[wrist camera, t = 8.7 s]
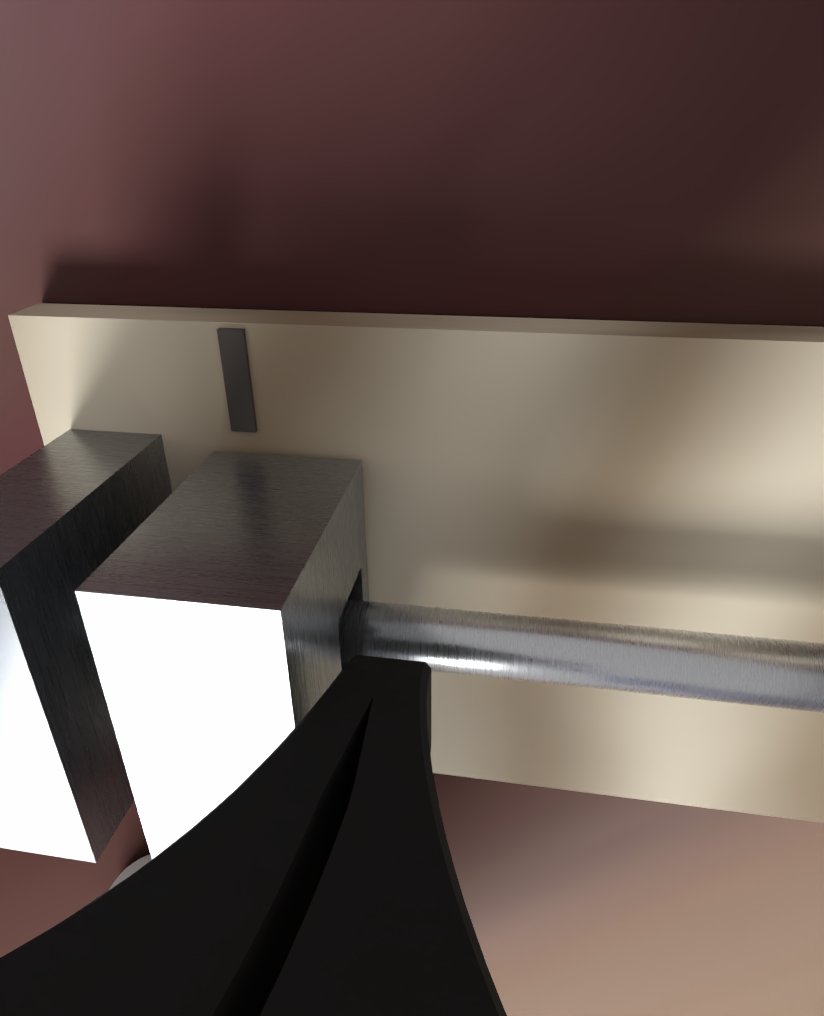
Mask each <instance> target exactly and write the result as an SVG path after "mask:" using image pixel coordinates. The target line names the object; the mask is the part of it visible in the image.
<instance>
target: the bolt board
mask: <svg viewBox="0 0 824 1016" xmlns="http://www.w3.org/2000/svg"><path fill="white" fill-rule="evenodd" d="M8 317H9V320H10V324H11V328H12V331H13V335H14V338H15V342H16V346H17V349H18V353H19V356H20V360H21V363H22V367H23V371H24V374H25V378H26V381H27V385H28V388H29V392H30V396H31V399H32V403H33V406H34V410H35V414H36V417H37V421H38V424H39V428H40V431H41V435H42V439H43V442H44V447H42V448H41V449H39V450H38V451H36V452H35V453H33V454H32V455H30V456H29V457H27V458H26V459H24V460H23V461H21V462H20V463H18V464H17V465H15V466H14V467H12V468H11V469H9V470H8V471H6V472H5V473H3V474H1V475H0V848H6V849H13V850H19V851H25V852H32V853H38V854H44V855H50V856H57V857H63V858H69V859H76V860H82V861H88V862H94V863H96V862H97V860H98V859H99V857H100V855H101V854H102V852H103V851H104V849H105V847H106V846H107V844H108V842H109V841H110V839H111V837H112V836H113V834H114V832H115V831H116V829H117V827H118V826H119V824H120V823H121V821H122V819H123V818H124V816H125V814H126V813H127V811H128V809H129V808H130V806H131V804H132V803H133V801H134V795H133V792H132V788H131V785H130V781H129V778H128V774H127V771H126V767H125V764H124V760H123V757H122V753H121V750H120V747H119V743H118V740H117V736H116V733H115V729H114V726H113V722H112V719H111V715H110V712H109V708H108V705H107V701H106V698H105V694H104V691H103V687H102V684H101V681H100V677H99V674H98V670H97V667H96V663H95V660H94V656H93V653H92V649H91V646H90V642H89V639H88V635H87V632H86V628H85V625H84V621H83V618H82V614H81V611H80V608H79V604H78V601H77V597H76V594H75V590H76V589H77V588H78V587H79V586H80V585H81V584H82V583H83V582H84V581H85V580H86V579H87V578H88V577H89V576H90V575H91V574H92V573H93V572H94V571H95V570H96V569H97V568H98V567H99V566H100V565H101V564H102V563H103V562H104V561H105V560H106V559H107V558H108V557H109V556H110V555H111V554H112V553H113V552H114V551H115V550H116V549H117V548H118V547H119V546H120V545H121V544H122V543H123V542H124V541H125V540H126V539H127V538H128V537H129V536H130V535H131V534H132V533H133V532H134V531H135V530H136V529H137V528H138V527H139V526H140V525H141V524H142V523H143V522H144V521H145V520H146V519H147V518H148V517H149V516H150V515H151V514H152V513H153V512H154V511H155V510H156V509H157V508H158V507H159V506H160V505H161V504H162V503H163V502H164V501H165V500H166V499H167V498H168V497H169V496H170V495H171V494H172V493H173V492H174V491H175V490H176V489H177V488H178V487H179V486H180V485H181V484H182V483H183V482H184V481H185V480H186V479H187V478H188V477H189V476H190V475H191V474H192V473H193V472H194V471H195V470H196V469H197V468H198V466H199V465H200V464H201V463H202V462H203V461H204V460H205V459H206V458H207V457H208V456H209V455H210V454H211V453H212V452H213V451H222V452H238V453H254V454H270V455H286V456H302V457H318V458H334V459H350V460H362V466H363V486H364V506H365V527H366V547H367V567H368V587H369V601H363V600H352V599H348V600H347V602H346V604H345V607H344V609H343V611H342V614H341V616H340V619H339V621H338V629H339V642H340V655H341V661H342V662H348V661H349V660H350V659H351V658H352V657H354V656H355V655H364V656H374V657H383V658H393V659H402V660H412V661H421V662H426V663H427V664H428V665H429V666H430V667H431V668H432V669H431V754H430V755H431V763H432V770H433V773H438V774H446V775H454V776H461V777H469V778H477V779H485V780H493V781H500V782H508V783H516V784H524V785H532V786H539V787H547V788H555V789H563V790H571V791H578V792H586V793H594V794H602V795H610V796H617V797H625V798H633V799H641V800H649V801H656V802H664V803H672V804H680V805H688V806H695V807H703V808H711V809H719V810H727V811H734V812H742V813H750V814H758V815H766V816H773V817H781V818H789V819H797V820H805V821H812V822H820V823H824V327H814V326H780V325H747V324H714V323H681V322H648V321H615V320H582V319H549V318H516V317H482V316H449V315H416V314H383V313H350V312H317V311H284V310H251V309H217V308H184V307H151V306H118V305H85V304H52V303H39V304H36V305H34V306H31V307H29V308H26V309H23V310H21V311H18V312H15V313H13V314H10V315H8Z"/></svg>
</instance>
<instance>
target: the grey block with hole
mask: <svg viewBox="0 0 824 1016" xmlns="http://www.w3.org/2000/svg"><path fill="white" fill-rule="evenodd" d="M75 594H76V597H77V601H78V604H79V608H80V611H81V614H82V618H83V621H84V625H85V628H86V632H87V635H88V639H89V642H90V646H91V649H92V653H93V656H94V660H95V663H96V667H97V670H98V674H99V677H100V681H101V684H102V687H103V691H104V694H105V698H106V701H107V705H108V708H109V712H110V715H111V719H112V722H113V726H114V729H115V733H116V736H117V740H118V743H119V747H120V750H121V753H122V757H123V760H124V764H125V767H126V771H127V774H128V778H129V781H130V785H131V788H132V792H133V795H134V799H135V802H136V806H137V809H138V813H139V816H140V820H141V823H142V826H143V830H144V833H145V837H146V840H147V844H148V847H149V851H150V854H151V858H152V859H153V858H155V857H156V856H157V855H159V854H160V853H161V852H162V851H164V850H165V849H166V848H167V847H169V846H170V845H171V844H172V843H174V842H175V841H176V840H177V839H179V838H180V837H181V836H182V835H184V834H185V833H186V832H188V831H189V830H190V829H191V828H192V827H194V826H195V825H196V824H197V823H198V822H199V821H201V820H202V819H203V818H204V817H205V816H206V815H208V814H209V813H210V812H211V811H212V810H213V809H214V808H216V807H217V806H218V805H219V804H220V803H221V802H222V801H223V800H224V799H226V798H227V797H228V796H229V795H230V794H231V793H232V792H233V791H234V790H235V789H236V788H237V787H238V786H239V785H240V784H241V783H242V782H244V781H245V780H246V779H247V777H248V776H249V775H250V774H251V773H252V772H253V771H254V770H255V769H256V768H257V767H258V766H259V765H260V764H261V763H262V762H263V761H264V760H265V759H266V758H267V757H268V756H269V755H270V754H271V753H272V752H273V751H274V750H275V749H276V748H277V747H278V746H279V745H280V744H281V743H282V741H283V740H284V739H285V738H286V737H287V736H288V735H289V734H290V732H291V731H292V730H293V729H294V728H295V727H296V726H297V724H298V723H299V722H300V721H301V720H302V719H303V718H304V717H305V715H306V714H307V713H308V712H309V711H310V710H311V708H312V707H313V706H314V705H315V704H316V702H317V701H318V700H319V699H320V697H321V696H322V695H323V694H324V693H325V691H326V690H327V689H328V688H329V686H330V685H331V684H332V682H333V681H334V680H335V679H336V677H337V676H338V675H339V673H340V672H341V671H342V669H343V668H344V667H345V665H346V664H347V663H348V662H342V661H341V655H340V642H339V629H338V621H339V619H340V616H341V614H342V611H343V609H344V607H345V604H346V602H347V600H348V599H352V600H363V601H369V587H368V567H367V547H366V527H365V506H364V486H363V466H362V460H350V459H334V458H318V457H302V456H286V455H270V454H254V453H238V452H222V451H213V452H212V453H211V454H210V455H209V456H208V457H207V458H206V459H205V460H204V461H203V462H202V463H201V464H200V465H199V466H198V468H197V469H196V470H195V471H194V472H193V473H192V474H191V475H190V476H189V477H188V478H187V479H186V480H185V481H184V482H183V483H182V484H181V485H180V486H179V487H178V488H177V489H176V490H175V491H174V492H173V493H172V494H171V495H170V496H169V497H168V498H167V499H166V500H165V501H164V502H163V503H162V504H161V505H160V506H159V507H158V508H157V509H156V510H155V511H154V512H153V513H152V514H151V515H150V516H149V517H148V518H147V519H146V520H145V521H144V522H143V523H142V524H141V525H140V526H139V527H138V528H137V529H136V530H135V531H134V532H133V533H132V534H131V535H130V536H129V537H128V538H127V539H126V540H125V541H124V542H123V543H122V544H121V545H120V546H119V547H118V548H117V549H116V550H115V551H114V552H113V553H112V554H111V555H110V556H109V557H108V558H107V559H106V560H105V561H104V562H103V563H102V564H101V565H100V566H99V567H98V568H97V569H96V570H95V571H94V572H93V573H92V574H91V575H90V576H89V577H88V578H87V579H86V580H85V581H84V582H83V583H82V584H81V585H80V586H79V587H78V588H77V589H76V590H75Z"/></svg>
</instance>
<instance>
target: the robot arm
mask: <svg viewBox="0 0 824 1016" xmlns="http://www.w3.org/2000/svg"><path fill="white" fill-rule="evenodd" d="M431 669H432V668H431V667H430V666H429V665H428V664H427V663H426V662H421V661H412V660H402V659H393V658H383V657H374V656H364V655H355V656H354V657H352V658H351V659H350V660H349V661H348V663H347V664H346V665H345V667H344V668H343V669H342V671H341V672H340V673H339V675H338V676H337V677H336V679H335V680H334V681H333V682H332V684H331V685H330V686H329V688H328V689H327V690H326V691H325V693H324V694H323V695H322V696H321V697H320V699H319V700H318V701H317V702H316V704H315V705H314V706H313V707H312V708H311V710H310V711H309V712H308V713H307V714H306V715H305V717H304V718H303V719H302V720H301V721H300V722H299V723H298V724H297V726H296V727H295V728H294V729H293V730H292V731H291V732H290V734H289V735H288V736H287V737H286V738H285V739H284V740H283V741H282V743H281V744H280V745H279V746H278V747H277V748H276V749H275V750H274V751H273V752H272V753H271V754H270V755H269V756H268V757H267V758H266V759H265V760H264V761H263V762H262V763H261V764H260V765H259V766H258V767H257V768H256V769H255V770H254V771H253V772H252V773H251V774H250V775H249V776H248V777H247V779H246V780H245V781H244V782H242V783H241V784H240V785H239V786H238V787H237V788H236V789H235V790H234V791H233V792H232V793H231V794H230V795H229V796H228V797H227V798H226V799H224V800H223V801H222V802H221V803H220V804H219V805H218V806H217V807H216V808H214V809H213V810H212V811H211V812H210V813H209V814H208V815H206V816H205V817H204V818H203V819H202V820H201V821H199V822H198V823H197V824H196V825H195V826H194V827H192V828H191V829H190V830H189V831H188V832H186V833H185V834H184V835H182V836H181V837H180V838H179V839H177V840H176V841H175V842H174V843H172V844H171V845H170V846H169V847H167V848H166V849H165V850H164V851H162V852H161V853H160V854H159V855H157V856H156V857H155V858H153V859H152V860H151V861H149V862H148V863H147V864H145V865H144V866H143V867H141V868H140V869H139V870H137V871H136V872H135V873H133V874H132V875H131V876H129V877H128V878H126V879H125V880H123V881H122V882H120V883H119V884H117V885H116V886H114V887H113V888H111V889H110V890H109V891H107V892H106V893H104V894H103V895H101V896H100V897H98V898H97V899H95V900H94V901H92V902H91V903H89V904H88V905H86V906H85V907H84V908H82V909H81V910H79V911H78V912H76V913H75V914H73V915H72V916H70V917H69V918H67V919H65V920H64V921H62V922H61V923H59V924H57V925H56V926H54V927H53V928H51V929H49V930H48V931H46V932H44V933H42V934H41V935H39V936H37V937H36V938H34V939H32V940H30V941H29V942H27V943H25V944H24V945H22V946H20V947H18V948H17V949H15V950H13V951H12V952H10V953H8V954H6V955H5V956H3V957H1V958H0V1016H507V1015H506V1013H505V1010H504V1008H503V1005H502V1003H501V1000H500V998H499V995H498V993H497V990H496V988H495V985H494V983H493V980H492V978H491V975H490V973H489V970H488V967H487V965H486V962H485V959H484V956H483V954H482V951H481V948H480V945H479V942H478V939H477V936H476V934H475V931H474V928H473V925H472V922H471V919H470V916H469V914H468V911H467V908H466V905H465V902H464V899H463V895H462V892H461V889H460V885H459V882H458V879H457V875H456V872H455V869H454V865H453V861H452V857H451V854H450V850H449V846H448V843H447V839H446V834H445V830H444V826H443V822H442V817H441V813H440V808H439V803H438V798H437V793H436V788H435V782H434V776H433V770H432V763H431V755H430V754H431Z"/></svg>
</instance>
